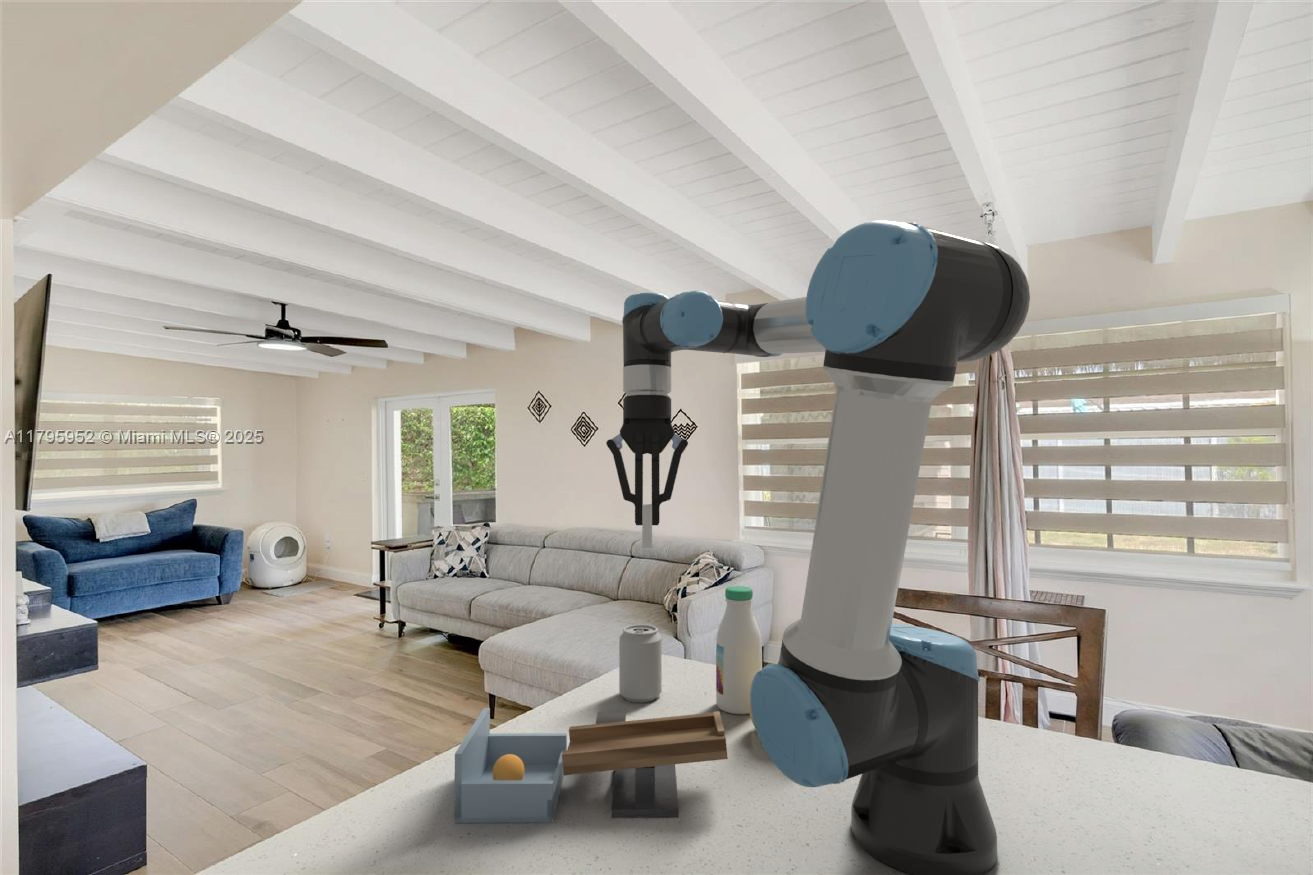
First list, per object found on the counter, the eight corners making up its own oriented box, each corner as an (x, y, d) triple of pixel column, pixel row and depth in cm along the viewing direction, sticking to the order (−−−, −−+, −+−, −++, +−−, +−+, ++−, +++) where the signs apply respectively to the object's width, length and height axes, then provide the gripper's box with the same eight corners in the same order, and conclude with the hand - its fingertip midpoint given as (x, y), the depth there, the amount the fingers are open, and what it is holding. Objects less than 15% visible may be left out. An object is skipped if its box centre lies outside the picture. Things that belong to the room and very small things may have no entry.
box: (483, 766, 90) (484, 707, 91) (566, 766, 91) (567, 707, 91) (454, 823, 77) (454, 753, 77) (552, 822, 77) (552, 753, 77)
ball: (531, 784, 84) (530, 753, 84) (506, 799, 81) (504, 766, 81) (512, 776, 87) (510, 745, 87) (486, 790, 83) (484, 758, 84)
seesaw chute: (577, 720, 96) (576, 700, 96) (714, 707, 96) (712, 686, 96) (563, 775, 80) (561, 750, 80) (727, 759, 80) (725, 734, 80)
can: (663, 689, 120) (663, 622, 120) (659, 705, 112) (659, 634, 112) (622, 687, 120) (622, 621, 121) (616, 703, 113) (616, 633, 113)
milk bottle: (769, 703, 113) (769, 586, 113) (750, 719, 106) (750, 595, 106) (728, 694, 117) (728, 581, 117) (708, 709, 110) (708, 589, 111)
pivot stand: (616, 768, 90) (616, 736, 90) (674, 768, 90) (674, 736, 90) (611, 818, 78) (611, 780, 78) (678, 817, 78) (678, 780, 78)
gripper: (687, 397, 107) (687, 543, 106) (607, 396, 107) (606, 543, 106) (690, 393, 99) (690, 550, 99) (603, 393, 99) (603, 550, 99)
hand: (647, 546), depth 103 cm, fingers closed
